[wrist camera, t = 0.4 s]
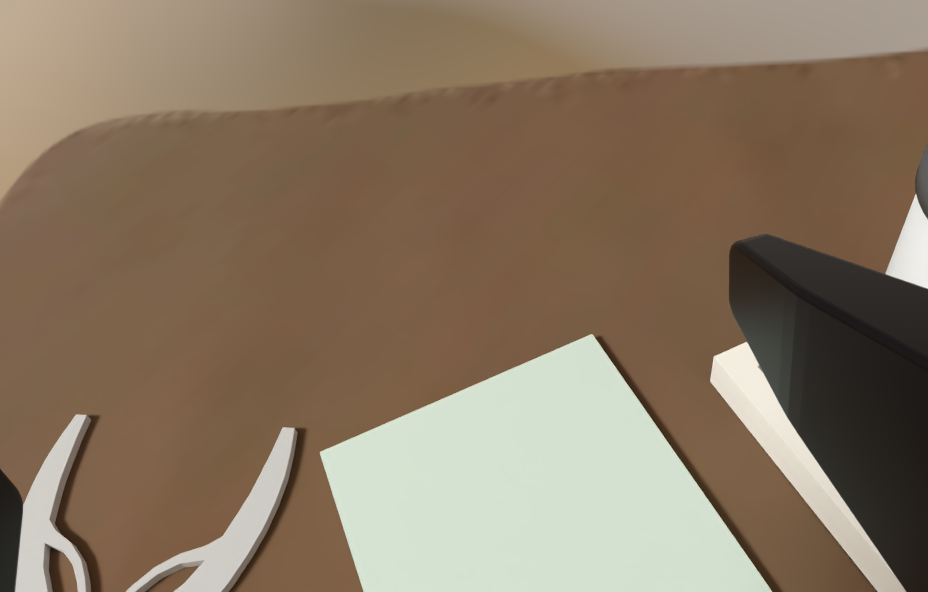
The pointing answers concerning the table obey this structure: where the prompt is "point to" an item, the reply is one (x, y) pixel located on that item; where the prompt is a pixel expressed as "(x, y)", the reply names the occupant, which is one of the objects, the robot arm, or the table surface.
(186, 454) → the table surface
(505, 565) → the mat
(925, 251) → the grey-banded white cylinder
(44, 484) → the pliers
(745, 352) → the white square frame
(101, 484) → the table surface
